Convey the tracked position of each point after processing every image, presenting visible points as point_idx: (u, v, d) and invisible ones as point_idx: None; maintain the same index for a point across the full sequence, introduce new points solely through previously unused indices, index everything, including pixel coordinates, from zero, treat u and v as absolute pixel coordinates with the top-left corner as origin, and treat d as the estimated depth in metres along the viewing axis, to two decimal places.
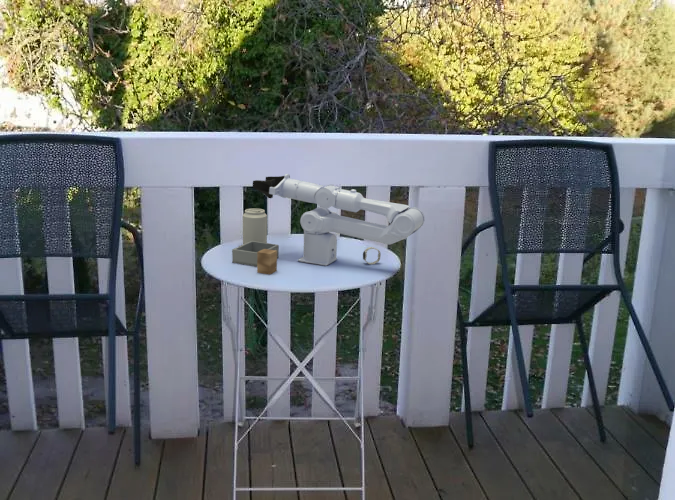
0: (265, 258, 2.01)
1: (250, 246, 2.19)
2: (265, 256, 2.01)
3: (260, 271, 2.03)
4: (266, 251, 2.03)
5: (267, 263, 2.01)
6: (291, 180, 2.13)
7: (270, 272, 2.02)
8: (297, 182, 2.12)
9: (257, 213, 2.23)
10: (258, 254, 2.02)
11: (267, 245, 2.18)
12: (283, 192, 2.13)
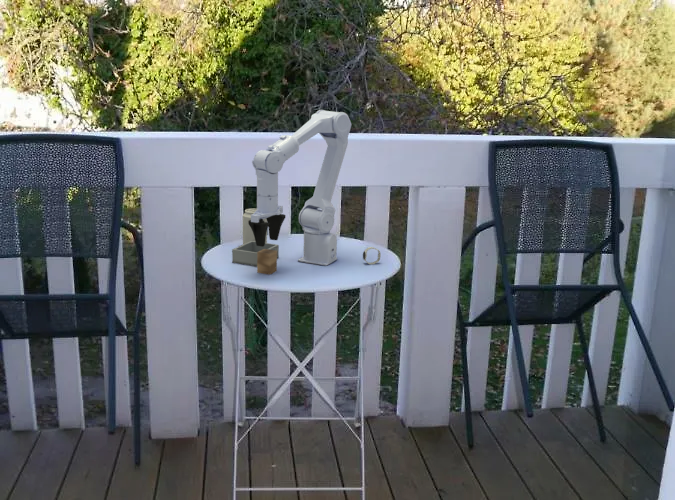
0: (265, 258, 2.01)
1: (250, 246, 2.19)
2: (265, 256, 2.01)
3: (260, 271, 2.03)
4: (266, 251, 2.03)
5: (267, 263, 2.01)
6: (277, 204, 1.99)
7: (270, 272, 2.02)
8: (277, 196, 1.99)
9: None
10: (258, 254, 2.02)
11: (267, 245, 2.18)
12: None
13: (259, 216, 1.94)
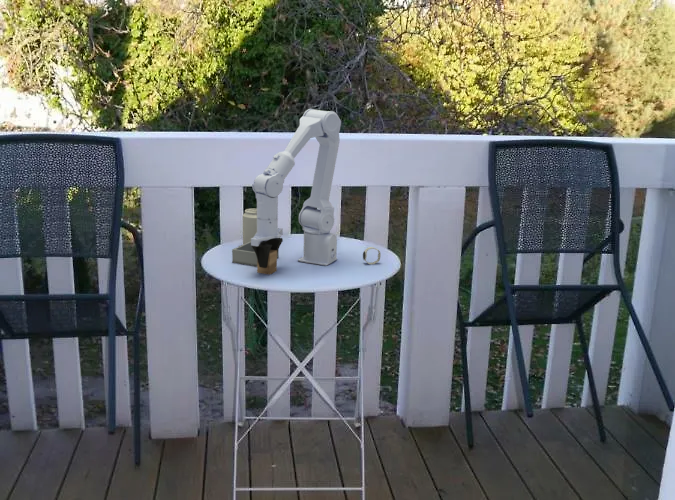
0: None
1: (250, 246, 2.19)
2: None
3: (260, 271, 2.03)
4: None
5: None
6: (277, 227, 2.01)
7: (270, 272, 2.02)
8: (277, 219, 2.00)
9: None
10: None
11: None
12: None
13: (259, 240, 1.96)
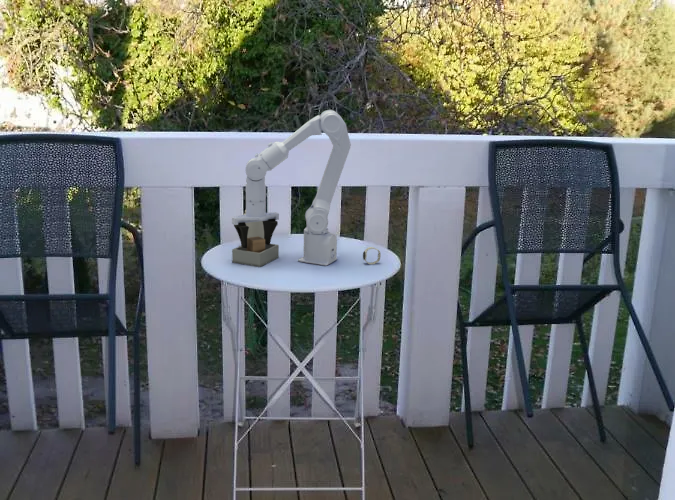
0: (250, 244, 2.12)
1: None
2: (250, 242, 2.12)
3: None
4: (256, 238, 2.14)
5: (251, 249, 2.12)
6: (263, 210, 2.09)
7: None
8: (263, 203, 2.09)
9: None
10: (247, 240, 2.14)
11: (267, 245, 2.18)
12: None
13: (238, 219, 2.07)
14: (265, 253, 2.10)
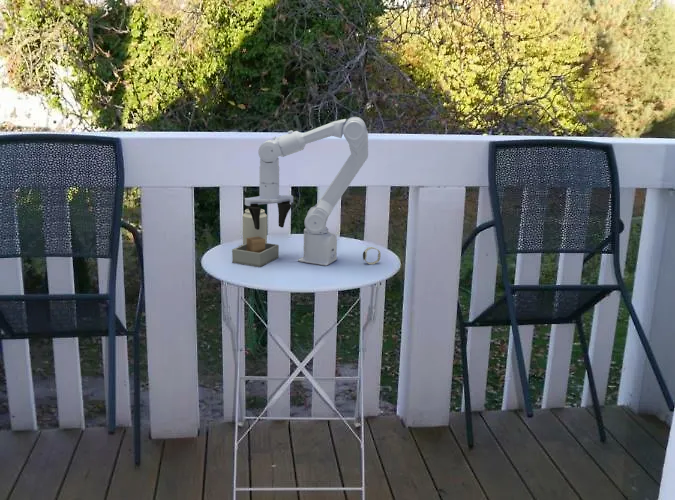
0: (250, 244, 2.12)
1: None
2: (250, 242, 2.12)
3: None
4: (256, 238, 2.14)
5: (251, 249, 2.12)
6: (275, 192, 2.10)
7: None
8: (276, 185, 2.10)
9: None
10: (247, 240, 2.14)
11: (267, 245, 2.18)
12: None
13: (250, 200, 2.09)
14: (265, 253, 2.10)
